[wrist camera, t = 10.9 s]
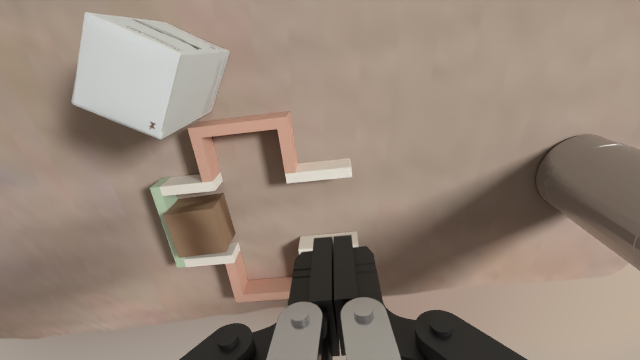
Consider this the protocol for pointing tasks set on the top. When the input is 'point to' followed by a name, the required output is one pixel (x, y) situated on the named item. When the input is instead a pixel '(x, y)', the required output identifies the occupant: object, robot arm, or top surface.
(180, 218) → the walnut block
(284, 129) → the corral
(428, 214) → the top surface
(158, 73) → the supplement box
